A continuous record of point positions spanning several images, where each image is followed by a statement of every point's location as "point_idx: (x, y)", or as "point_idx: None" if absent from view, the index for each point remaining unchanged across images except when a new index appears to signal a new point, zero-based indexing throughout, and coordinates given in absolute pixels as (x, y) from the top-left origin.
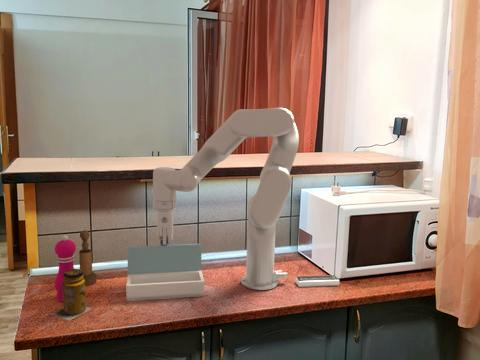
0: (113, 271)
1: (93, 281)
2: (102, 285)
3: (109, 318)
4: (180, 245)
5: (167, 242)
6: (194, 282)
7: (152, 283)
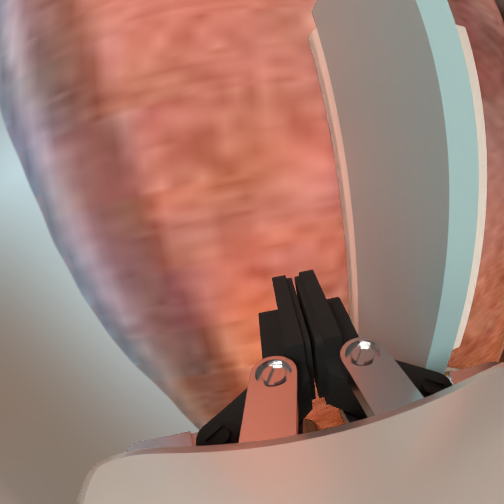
0: (200, 407)
1: (304, 424)
2: (313, 402)
3: (491, 314)
4: (473, 196)
5: (442, 381)
6: (475, 75)
7: (472, 270)
